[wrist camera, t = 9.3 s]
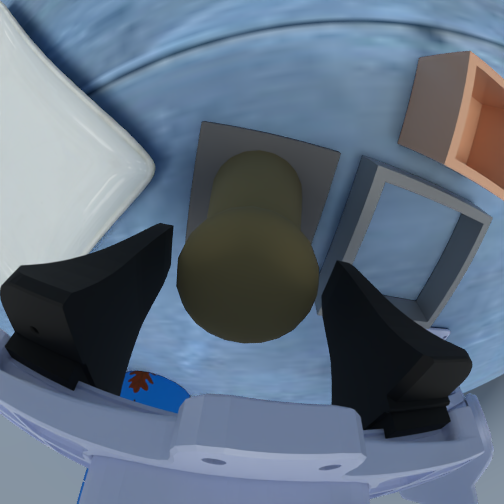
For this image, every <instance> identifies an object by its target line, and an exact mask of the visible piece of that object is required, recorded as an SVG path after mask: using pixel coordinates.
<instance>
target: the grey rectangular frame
mask: <svg viewBox="0 0 504 504" xmlns="http://www.w3.org/2000/svg"><path fill="white" fill-rule="evenodd" d="M385 182H387V183H390V184H393V185H396V186H398V187H401V188H404V189H406V190H409V191H411V192H414V193H416V194H419V195H421V196H424V197H426V198H429V199H431V200H433V201H436V202H438V203H440V204H443V205H445V206H447V207H449V208H452V209H454V210H456V211H458V212H460V213H462V214H461V217H460V219H459V221H458V223H457V226H456V228H455V230H454V232H453V234H452V236H451V238H450V241H449V243H448V245H447V247H446V249H445V251H444V253H443V254H442V256H441V258H440V260H439V262H438V264H437V266H436V268H435V269H434V271H433V273H432V275H431V277H430V278H429V280H428V282H427V284H426V285H425V287H424V289H423V290H422V292H421V294H420V295H419V297H418V299H417V300H416V301H414V300H408V299H402V298H396V297H391V296H385V295H383V296H384V297H386V298H387V299H388V300H389V301H390V302H391V303H392V304H393V305H394V306H395V307H397V308H398V309H399V310H400V311H401V312H403V313H404V314H405V315H406V316H408V317H409V318H410V319H412V320H413V321H414V322H416V323H417V324H419V325H420V326H422V327H423V328H425V329H429V328H430V327H431V325H432V324H433V323H434V321H435V320H436V318H437V317H438V316H439V314H440V313H441V311H442V310H443V308H444V307H445V305H446V304H447V302H448V301H449V299H450V297H451V296H452V294H453V293H454V291H455V290H456V288H457V286H458V285H459V283H460V281H461V280H462V278H463V276H464V274H465V273H466V271H467V269H468V267H469V265H470V264H471V262H472V260H473V258H474V256H475V254H476V252H477V250H478V248H479V246H480V244H481V242H482V240H483V238H484V236H485V234H486V232H487V230H488V228H489V225H490V223H491V221H492V217H491V216H490V215H488V214H487V213H486V212H484V211H483V210H482V209H480V208H479V207H478V206H476V205H475V204H473V203H472V202H470V201H468V200H466V199H464V198H462V197H460V196H458V195H456V194H454V193H452V192H450V191H448V190H446V189H444V188H442V187H440V186H438V185H436V184H433V183H431V182H429V181H427V180H425V179H422V178H420V177H418V176H415V175H413V174H411V173H408V172H406V171H403V170H401V169H398V168H396V167H393V166H391V165H388V164H386V163H383V162H380V161H378V160H375V159H372V158H369V157H366V156H364V155H362V158H361V161H360V165H359V168H358V171H357V174H356V177H355V180H354V183H353V186H352V189H351V192H350V195H349V198H348V200H347V203H346V206H345V209H344V212H343V214H342V217H341V220H340V223H339V225H338V228H337V231H336V233H335V236H334V239H333V241H332V244H331V247H330V249H329V252H328V254H327V257H326V259H325V262H324V264H323V267H322V269H321V272H320V274H319V285H318V292H317V297H316V299H315V305H316V310H317V315H321V316H322V301H321V295H322V293H323V291H324V289H325V286H326V284H327V282H328V279H329V277H330V275H331V273H332V270H333V268H334V266H335V263H336V261H337V260H339V261H343V262H348V263H350V264H351V265H352V264H353V261H354V259H355V257H356V255H357V252H358V250H359V248H360V245H361V243H362V241H363V238H364V236H365V234H366V231H367V229H368V226H369V224H370V221H371V219H372V216H373V214H374V211H375V209H376V206H377V203H378V201H379V198H380V195H381V193H382V190H383V187H384V184H385Z"/></svg>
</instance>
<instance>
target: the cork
mask: <svg viewBox="0 0 504 504" xmlns="http://www.w3.org/2000/svg"><path fill="white" fill-rule="evenodd" d="M301 213H302V185H301V182H300V180H299V177H298V175H297V172H296V171H295V170H294V169H293V167H292V166H291V165H290V164H289V163H288V162H287V161H286V160H284V159H283V158H281V157H279V156H278V155H276V154H274V153H270V152H266V151H261V150H256V151H246V152H242V153H240V154H238V155H235V156H233V157H231V158H230V159H229V160H228V161H227V162H225V163H224V164H223V165H222V166H221V167H220V169H219V170H218V172H217V174H216V176H215V178H214V181H213V186H212V191H211V197H210V203H209V208H208V214H207V219H206V220H205V221H204V222H203V223H201V224H200V225H199V226H198V227H197V228H196V229H195V230H194V231H193V232H192V233H191V234H190V236H189V238H188V239H187V241H186V243H185V245H184V247H183V249H182V251H181V253H180V255H179V258H178V267H177V285H176V286H177V289H178V292H179V295H180V298H181V301H182V303H183V306H184V308H185V310H186V311H187V312H188V314H189V315H190V316H191V318H192V319H193V320H194V321H195V323H196V324H198V325H199V326H200V327H202V328H203V329H204V330H206V331H207V332H209V333H210V334H213V335H215V336H217V337H220V338H222V339H224V340H228V341H234V342H239V343H262V342H266V341H270V340H274V339H277V338H280V337H281V336H283V335H285V334H287V333H289V332H290V331H292V330H294V329H295V328H296V327H297V326H298V324H299V323H300V322H301V321H302V320H303V319H304V318H305V317H306V316H307V314H308V313H309V312H310V310H311V308H312V306H313V303H314V301H315V299H316V297H317V292H318V285H319V266H318V263H317V259H316V257H315V254H314V251H313V249H312V246H311V243H310V241H309V240H308V239H307V237H306V236H305V235H304V234H303V233H302V232H301Z"/></svg>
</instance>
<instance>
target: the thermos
mask: <svg viewBox="0 0 504 504" xmlns="http://www.w3.org/2000/svg"><path fill="white" fill-rule="evenodd" d="M120 397H122V398H125V399H128V400H131V401H134V402H138V403H141V404H144V405H148V406H151V407H154V408H158V409H162V410H166V411H169V412H173V413H177V414H178V411H179V407H180V406H181V405H182V403H183V402H184V401H185V399H188V398H190V395H189V394H188V393H187V392H186V390H185V389H183V388H182V387H180V386H179V385H178V384H176V383H175V382H172V381H170V380H168V379H166V378H164V377H162V376H159V375H155V374H152V373H149V372H142V371H131V372H127V373H126V374H125V378H124V381H123V385H122V389H121V394H120ZM88 470H89V469H88V468H87V470H86V473H85V477H84V481H85V480H86V476H87V473H88ZM84 483H85V482H83V483H82V487H81V490H80V494H79V497H78V501H77V504H79V501H80V497H81V494H82V490H83V487H84Z"/></svg>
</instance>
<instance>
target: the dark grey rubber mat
mask: <svg viewBox="0 0 504 504" xmlns="http://www.w3.org/2000/svg"><path fill="white" fill-rule="evenodd" d="M256 150H261V151H266V152H270V153H274V154H276V155H278V156H279V157H281V158H283V159H284V160H286V161H287V162H288V163H289V164H290V165H291V166H292V167H293V169H294V170H295V171H296V172H297V175H298V177H299V180H300V182H301V185H302V213H301V232H302V233H303V234H304V235H305V236H306V237H307V239H308V240H309V241H310V243H312V240H313V238H314V235H315V232H316V229H317V226H318V223H319V220H320V217H321V214H322V211H323V208H324V205H325V202H326V199H327V196H328V193H329V190H330V187H331V184H332V180H333V177H334V174H335V171H336V167H337V164H338V161H339V158H340V154H341V153H340V152H338V151H334V150H331V149H328V148H324V147H321V146H317V145H314V144H310V143H306V142H303V141H299V140H295V139H291V138H287V137H283V136H279V135H274V134H270V133H266V132H261V131H256V130H251V129H246V128H241V127H236V126H230V125H224V124H218V123H212V122H206V121H203V122H202V124H201V130H200V136H199V142H198V148H197V154H196V161H195V167H194V174H193V181H192V189H191V197H190V205H189V213H188V222H187V232H186V241H187V239H188V238H189V236H190V234H191V233H192V232H193V231H194V230H195V229H196V228H197V227H198V226H199V225H200V224H201V223H203V222H204V221H205V220H206V219H207V214H208V208H209V203H210V197H211V191H212V186H213V181H214V178H215V176H216V174H217V172H218V170H219V169H220V167H221V166H222V165H223V164H224V163H225V162H227V161H228V160H229V159H230V158H231V157H233V156H235V155H238V154H240V153H242V152H246V151H256ZM185 243H186V242H185Z"/></svg>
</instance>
